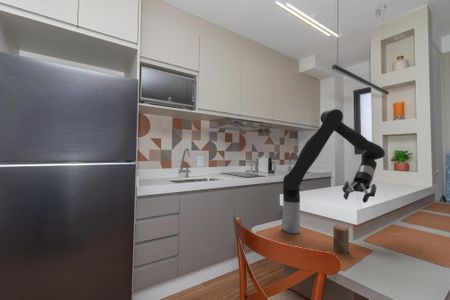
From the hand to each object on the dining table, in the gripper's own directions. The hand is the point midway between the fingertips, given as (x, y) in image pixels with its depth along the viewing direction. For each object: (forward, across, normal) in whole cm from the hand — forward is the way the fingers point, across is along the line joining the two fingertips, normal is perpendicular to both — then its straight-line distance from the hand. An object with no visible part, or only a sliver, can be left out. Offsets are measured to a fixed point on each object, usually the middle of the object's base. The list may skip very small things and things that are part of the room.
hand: (354, 200), depth 103 cm
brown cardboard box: (+25, 0, +6) cm, 25 cm away
